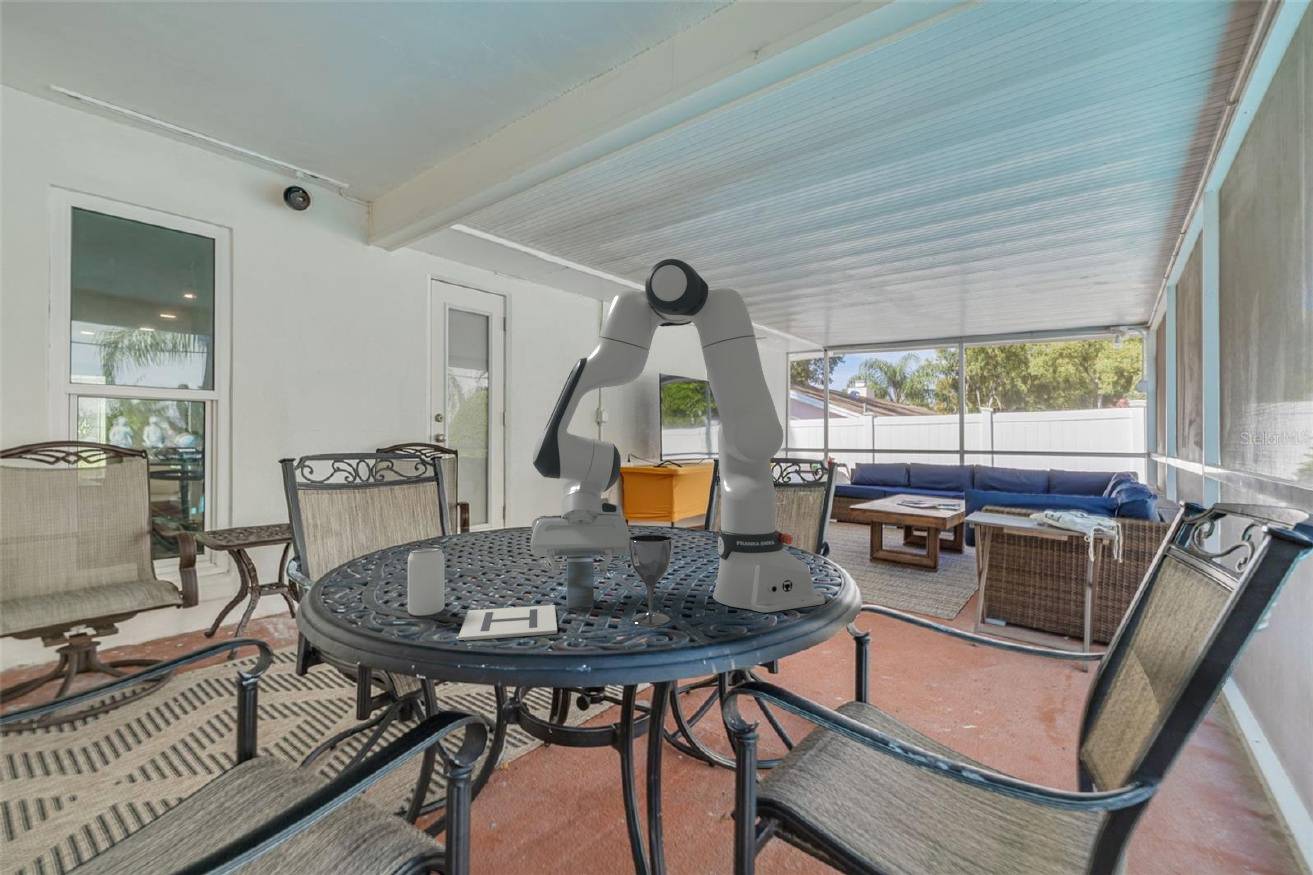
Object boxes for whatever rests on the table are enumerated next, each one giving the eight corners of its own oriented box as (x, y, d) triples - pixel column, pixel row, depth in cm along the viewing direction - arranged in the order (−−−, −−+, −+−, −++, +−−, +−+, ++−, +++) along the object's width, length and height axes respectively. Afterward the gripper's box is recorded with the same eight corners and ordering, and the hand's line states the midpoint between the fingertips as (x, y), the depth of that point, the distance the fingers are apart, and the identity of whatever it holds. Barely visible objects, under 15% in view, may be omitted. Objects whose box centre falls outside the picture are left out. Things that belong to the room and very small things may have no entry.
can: (431, 618, 103) (431, 553, 103) (400, 615, 104) (400, 551, 104) (451, 607, 109) (451, 546, 109) (421, 605, 110) (421, 544, 110)
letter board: (554, 608, 109) (554, 604, 109) (557, 633, 95) (557, 629, 95) (468, 613, 105) (468, 610, 105) (458, 640, 92) (458, 637, 92)
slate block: (591, 599, 115) (591, 555, 114) (593, 606, 110) (593, 561, 110) (566, 600, 114) (566, 556, 113) (567, 608, 109) (567, 562, 109)
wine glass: (621, 623, 100) (621, 539, 100) (639, 610, 108) (639, 532, 107) (663, 629, 97) (663, 543, 97) (678, 615, 105) (678, 535, 104)
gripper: (531, 507, 117) (524, 564, 108) (628, 506, 119) (630, 562, 110) (534, 524, 122) (528, 581, 112) (628, 523, 124) (629, 579, 114)
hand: (579, 572), depth 111 cm, fingers open, 8 cm apart
